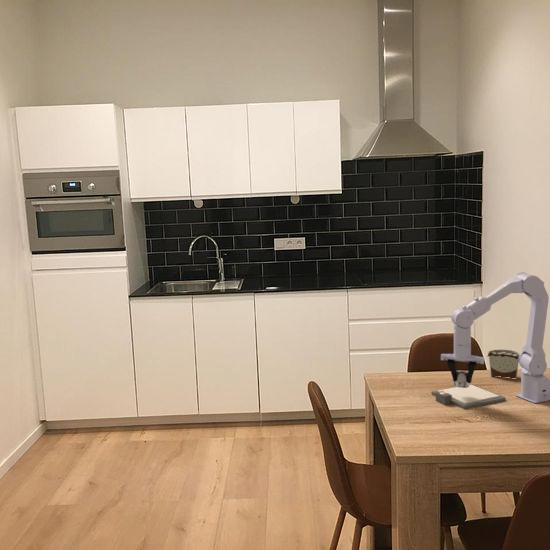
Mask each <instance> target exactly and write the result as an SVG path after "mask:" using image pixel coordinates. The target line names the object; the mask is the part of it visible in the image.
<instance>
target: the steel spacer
mask: <svg viewBox="0 0 550 550" xmlns="http://www.w3.org/2000/svg"><path fill="white" fill-rule="evenodd" d="M460 370H461V369H460ZM469 384H470V383H468V370H463V369H462V370H461V371H456V386H455V387H460V388H468V387H469Z"/></svg>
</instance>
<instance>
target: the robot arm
mask: <svg viewBox="0 0 550 550" xmlns="http://www.w3.org/2000/svg"><path fill="white" fill-rule="evenodd" d="M523 293H524V294H525V296H526V297H528V299H530V301H531V303H530V310H529V318H528V327H527V336H526V343H525V345H524V346H523V347H522V351H521V353H520V354H519V355H520V356H519V362H518V365H520V367H521V370H520V371H521V373H520V380H521V381H520V393H516V394H515V397H518V398H521V399H523V400H526V401H529V402H531V403H534V404H538V403H543V402H547V401H548V402H549V401H550V379H549V377H547V376H546V375H545V374H544V373H546V370H547V368H548V363H547V361H546V353H545V351H544V347H543V346H544V339H545V338H544V337H545V333H546V331H545V330H546V324H547V323H546V322H547V316H548V315H547V314H548V308H549V307H548V306H549V299H550V297H549V294H548V291H547V289H546V288H545V282H544V281H543V280H542V279H541V278H540V277H539V276H536V275H533V274H529V273H527V272H518V273H517V274H516V275H514V276H511V277H509V279H508V280H506V282H504V283H503V284H501V285H500V286H499V287H497V288H496V289H494V290H493V291H492V292H490V293H489V294H488V295H486V296H482V295H481V296H475V297H474V298H473V300H471V301H470V303H468V304H466V305H463V306H462V308H458V309H456V310H455V311H453V313H452V315H451V317H450V319H451V321H452V322H453V353H441V354H440V361H447V362H446V365H447V367H448V368H449V371H450V373H451V377H452V381H453V383H454V382H455V381H456V370H457V366H458V365H457V364H458V362H463V363H468V364H467V371H468V383H469V384H472V380H473V375H474V372H475V370H476V368H477V365H478V364H480V365H484V364H485V356H484V357H483V356H478V355H472V331H471V329H472V328H471V327H472V325H473V324H474V321H475V320H477V319H479V318H480V317H482V316H484V314H486V313H488V312H489V311H490V310H491V308H492V305H494V304H496V303H497V302H500V300H502V299H504V298H505V297H507V296H509V295H511V294H523Z"/></svg>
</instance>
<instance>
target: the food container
mask: <svg viewBox="0 0 550 550" xmlns="http://www.w3.org/2000/svg"><path fill="white" fill-rule="evenodd" d="M520 355H521V354H520V353H519V352H518V351H515V350H511V349H509V350H508V349H492V350H489V351H488V353H487V358H488V359H489V360H488V361H489V369H490V370H489V371H490V377H491V376H501V377H510V378H516V379H517V377H518V371H519V370H518V368H519V356H520Z"/></svg>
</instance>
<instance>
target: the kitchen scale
mask: <svg viewBox="0 0 550 550" xmlns="http://www.w3.org/2000/svg"><path fill="white" fill-rule="evenodd" d="M431 395H433V396H435V402H437V403H440V404H442V405H444V406H446V405H450V404H453V405H455V406H457V407H459V408H461V409H463V410H466V409H471V408H475V407H481V406H486V405H490V404H495V402H496V403H500V402H505V401H507V399H506V397H505V396H502V395H500V394H498V393H495V392H493V391H491V390H490V391H489V390H487V389H485V388H482V387H479V386H478V385H475V384H472V383H469V387H468V388H460V387H457V386H453V387H449V388H443V389H438V390H432V391H431Z"/></svg>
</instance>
